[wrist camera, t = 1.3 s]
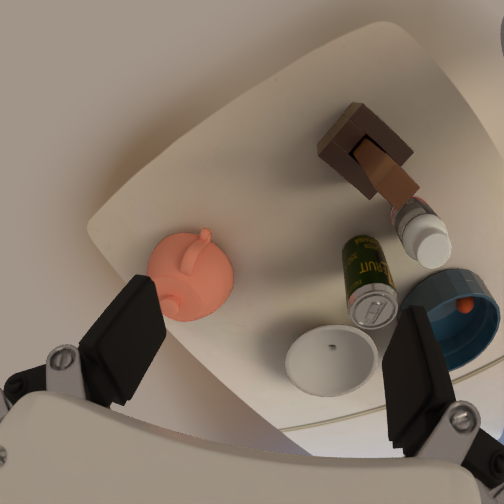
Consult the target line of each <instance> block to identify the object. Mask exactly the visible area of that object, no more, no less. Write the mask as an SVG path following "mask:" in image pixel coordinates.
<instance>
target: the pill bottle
mask: <svg viewBox="0 0 504 504" xmlns="http://www.w3.org/2000/svg"><path fill="white" fill-rule="evenodd" d="M390 218H391V223H392V225H393V227H394V229H395V231H396V233H397V235H398V237H399V239H400V241H401V243H402V245H403V247H404V249H405V251H406V253H407V254H408V255H409V256H410V257H411V258H413V259H415V260H417V261H418V262H419V263H420V265H421V266H423V267H424V268H427V269H435V268H438V267H440V266H442V265H443V264H444V263H445V262H446V261H447V260H448V258H449V257H450V254H451V242H450V240H449V238H448V233H447V228H446V226H445V224H444V223H443V221H442V220H441V219H440V218H439V217H438V216H437V215H436V213H435V212H434V211H433V210H432V209H431V208H430V206H429V205H428V204H427V203H426V202H425V201H424V200H423V199H422V198H420V197H418V196H415V195H413V196H412V197H411V198H410V199H409V200H408V201H407V202H406V203H405V204H404V205H403V206H402V207H401V208H400V209H399V210H396V209H395V208H394V207H392V210H391V216H390Z"/></svg>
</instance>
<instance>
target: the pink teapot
mask: <svg viewBox="0 0 504 504" xmlns="http://www.w3.org/2000/svg"><path fill="white" fill-rule="evenodd" d="M211 236H212V232H211V230H209V229H208V228H203V229H202V230H201V234H200V236H199V235H195V234H191V233H177V234H173V235H170V236H168V237H166V238H164V239H163V240H162V241H161V242H160V243H159V244H158V245H157V246H156V247H155V249H154V251H153V253H152V255H151V257H150V260H149V262H148V267H147V276H149V277H150V278H151V279H152V281H154V282H155V285H156V290H157V294H158V298H159V303H160V307H161V311H162V314H163V315H165V316H167V317H168V318H170V319H173V320H176V321H181V322H188V321H193V320H197V319H200V318H203V317H205V316H207V315H209V314H211V313H213V312H214V311H216V310H217V309H218V308H219V307H220V306H221V305H222V304H223V303H224V302H225V301H226V300H227V298H228V297H229V295H230V293H231V291H232V288H233V284H234V275H233V270H232V266H231V264H230V262H229V260H228V258H227V256H226V255H225V254H224V252H223V251H222V250H221V249H220V248H219V247H218V246H217V245H215V244H214V243H213V242H211V241H210V239H211Z"/></svg>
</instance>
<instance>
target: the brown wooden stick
mask: <svg viewBox="0 0 504 504" xmlns="http://www.w3.org/2000/svg"><path fill="white" fill-rule="evenodd" d="M351 152H352V153H353V155H354V156H355V158H356V159H357V161H358V162H359V164H360V165H361V167H362V168H363V170H364V171H365V173H366V175H367V176H368V178H369V179H370V181H371V183H372V184H373V186H374V187H375V189H376V190H377V191H378V192H379V193H380V194H381V195H382V196H383V197H384V198H385V199H386V200H387V201H388V202H389V203H390V204H391V205H392V206H393V207H394V208H395V209H396V210H399V209H400V208H401V207H402V206H403V205H404V204H405V203H406V202H407V201H408V200H409V199H410V198H411V197H412V196H413V195H414V194H415V193H416V192H417V190H418V189H419V188H420V187H419V186H418V185H417V184H416V183H415V182H414V181H413V179H412V178H411V177H410V176H409V175H408V174H407V173H406V172H405V171H404V170H403V169H402V168H401V167H400V166H399V165H398V164H397V163H396V162H394V161H393V160H392V159H391V158H390V157H389V156H388V155H386V154H385V153H384V152H383V151H382V150H380V149H379V148H378V147H377V146H376V145H374V144H373V143H372V142H371V141H369V140H368V139H367V138H366V137H364V136H363V137H362V139H361V140H360V141H359V142H358V143H357V144H356V145H355V147H354V148H353V149H352V150H351Z"/></svg>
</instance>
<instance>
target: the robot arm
mask: <svg viewBox="0 0 504 504" xmlns="http://www.w3.org/2000/svg"><path fill="white" fill-rule="evenodd" d="M165 337H166V327H165V323H164V319H163V315H162V311H161V307H160V303H159V298H158V294H157V290H156V285H155V282H154V281H152V279H151V278H150V277H149V276H144V275H135V276H134V277H133V278H132V279H131V280H130V281H129V282H128V284H127V285H126V286H125V287H124V288H123V289H122V291H121V292H120V293H119V294H118V295H117V296H116V298H115V299H114V300H113V301H112V302H111V304H110V305H109V306H108V307H107V308H106V310H105V311H104V312H103V313H102V314H101V316H100V317H99V318H98V319H97V321H96V322H95V323H94V324H93V326H92V327H91V328H90V329H89V330H88V332H87V333H86V334H85V336H84V337H83V338H82V340H81V341H80V342H79V347H78V348H76V347H75V346H73V345H68V344H65V345H61V346H58V347H56V348H55V349H53V350H52V351H51V352H50V353H49V355H48V357H47V360H46V364H44V365H41V366H38V367H35V368H32V369H28V370H26V371H22V372H19V373H16V374H14V375H12V376H11V377H9V378H8V380H7V381H6V383H5V385H4V390H2V389H1V388H0V504H504V445H502V444H501V443H500V442H498V441H497V440H496V439H494V438H493V437H492V436H490V435H489V434H488V433H486V432H485V431H484V430H482V429H481V428H480V424H481V417H480V414H479V412H478V410H477V409H476V407H475V406H474V405H472V404H471V403H469V402H467V401H461V400H460V401H456V398H455V394H454V390H453V386H452V383H451V379H450V375H449V372H448V368H447V365H446V362H445V358H444V355H443V352H442V349H441V346H440V344H439V343H438V342H436V339H435V335H434V333H433V330H432V327H431V324H430V321H429V318H428V315H427V313H426V310H425V308H424V306H417V305H409V306H408V307H407V309H403V310H402V313H401V315H400V318H399V321H398V323H397V326H396V328H395V331H394V333H393V336H392V338H391V340H390V343H389V345H388V347H387V350H386V352H385V354H384V357H383V360H382V371H383V379H384V389H385V399H386V410H387V424H388V438H389V441H393V448H403V454H404V456H403V457H402V458H337V457H318V456H305V455H294V454H285V453H277V452H270V451H263V450H256V449H250V448H244V447H238V446H233V445H228V444H223V443H219V442H214V441H210V440H206V439H201V438H198V437H194V436H190V435H186V434H183V433H179V432H175V431H172V430H168V429H165V428H162V427H159V426H156V425H152V424H149V423H146V422H143V421H141V420H138V419H135V418H132V417H129V416H126V415H124V414H121V413H118V412H115V411H113V410H111V409H110V405H111V403H112V402H114V403H117V404H119V405H122V406H124V405H125V403H126V401H127V400H130V399H131V398H132V397H133V395H134V393H135V391H136V389H137V388H138V386H139V384H140V382H141V380H142V378H143V377H144V374H145V373H146V371H147V369H148V367H149V366H150V364H151V362H152V361H153V359H154V357H155V355H156V353H157V352H158V350H159V348H160V346H161V345H162V343H163V341H164V339H165Z"/></svg>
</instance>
